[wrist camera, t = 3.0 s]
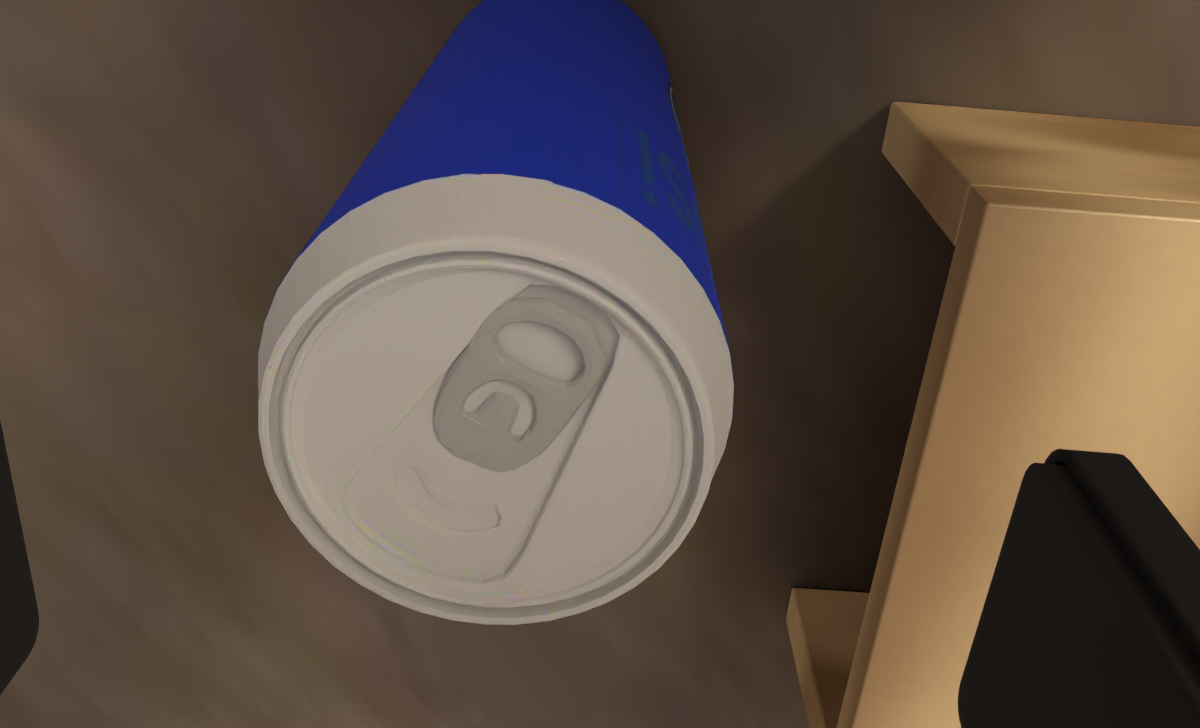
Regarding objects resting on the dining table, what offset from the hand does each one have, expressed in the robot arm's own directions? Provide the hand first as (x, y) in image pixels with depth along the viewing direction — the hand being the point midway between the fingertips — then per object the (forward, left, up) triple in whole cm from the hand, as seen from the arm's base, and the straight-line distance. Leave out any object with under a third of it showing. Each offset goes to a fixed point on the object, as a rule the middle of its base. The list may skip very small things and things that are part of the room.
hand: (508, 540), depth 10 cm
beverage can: (0, 0, -16) cm, 16 cm away
